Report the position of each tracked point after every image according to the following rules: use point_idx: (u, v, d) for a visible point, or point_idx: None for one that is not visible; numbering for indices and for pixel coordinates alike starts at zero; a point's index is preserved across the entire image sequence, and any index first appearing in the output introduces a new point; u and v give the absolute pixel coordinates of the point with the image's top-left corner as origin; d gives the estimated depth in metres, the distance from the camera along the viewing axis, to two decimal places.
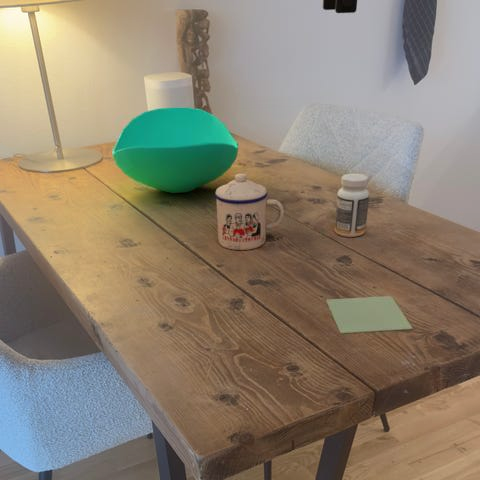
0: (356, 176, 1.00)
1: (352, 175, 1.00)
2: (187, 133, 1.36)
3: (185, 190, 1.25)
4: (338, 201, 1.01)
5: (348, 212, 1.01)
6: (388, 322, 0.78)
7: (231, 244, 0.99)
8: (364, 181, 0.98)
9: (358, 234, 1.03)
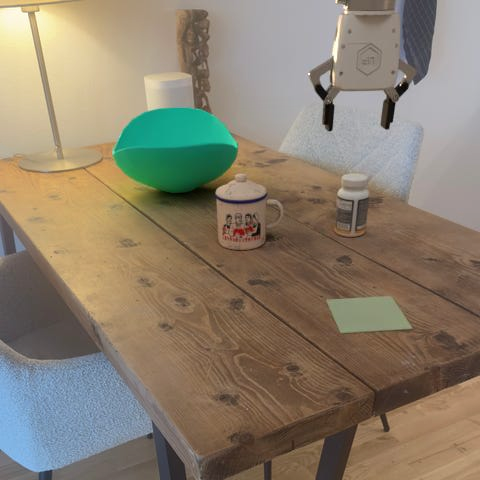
0: (356, 176, 1.00)
1: (352, 175, 1.00)
2: (187, 133, 1.36)
3: (185, 190, 1.25)
4: (338, 201, 1.01)
5: (348, 212, 1.01)
6: (388, 322, 0.78)
7: (231, 244, 0.99)
8: (364, 181, 0.98)
9: (358, 234, 1.03)
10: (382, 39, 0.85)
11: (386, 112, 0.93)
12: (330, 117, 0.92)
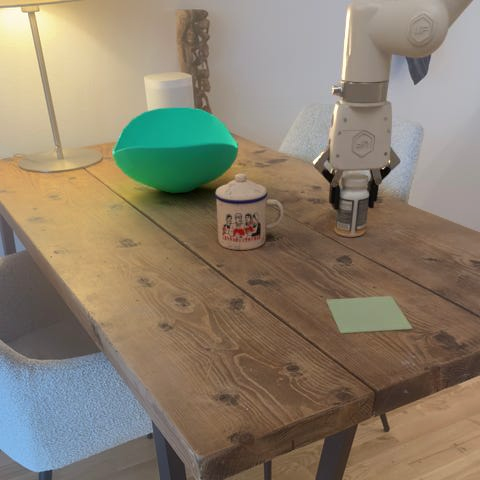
0: (356, 176, 1.00)
1: (352, 175, 1.00)
2: (187, 133, 1.36)
3: (185, 190, 1.25)
4: None
5: (348, 212, 1.01)
6: (388, 322, 0.78)
7: (231, 244, 0.99)
8: (364, 181, 0.98)
9: (358, 234, 1.03)
10: (375, 126, 0.92)
11: (370, 193, 1.00)
12: (336, 198, 1.00)
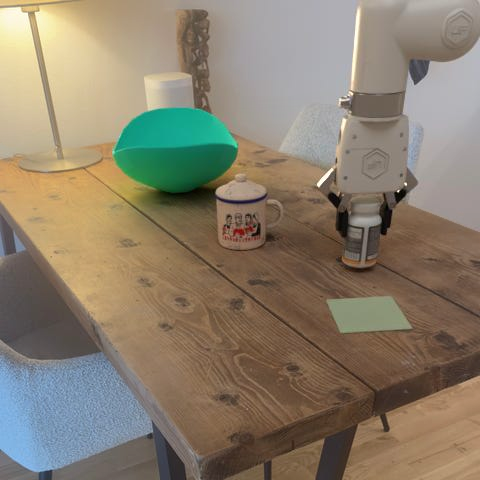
0: (367, 199, 0.87)
1: (362, 198, 0.87)
2: (187, 133, 1.36)
3: (185, 190, 1.25)
4: None
5: (357, 241, 0.88)
6: (388, 322, 0.78)
7: (231, 244, 0.99)
8: (376, 206, 0.85)
9: (369, 265, 0.91)
10: (389, 144, 0.79)
11: (383, 219, 0.88)
12: (344, 224, 0.87)
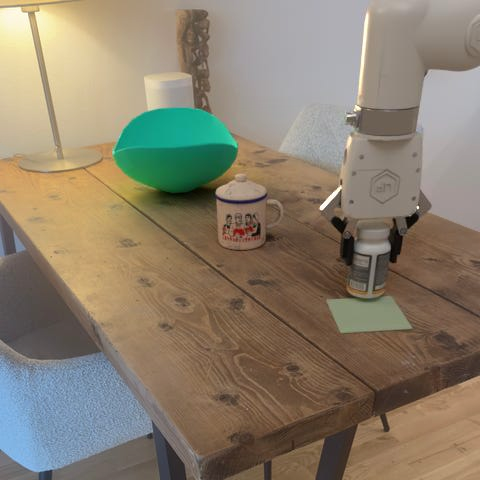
0: (375, 224, 0.78)
1: (369, 223, 0.79)
2: (187, 133, 1.36)
3: (185, 190, 1.25)
4: None
5: (364, 270, 0.80)
6: (388, 322, 0.78)
7: (231, 244, 0.99)
8: (385, 231, 0.77)
9: (376, 295, 0.82)
10: (401, 164, 0.71)
11: (392, 245, 0.79)
12: (349, 252, 0.79)
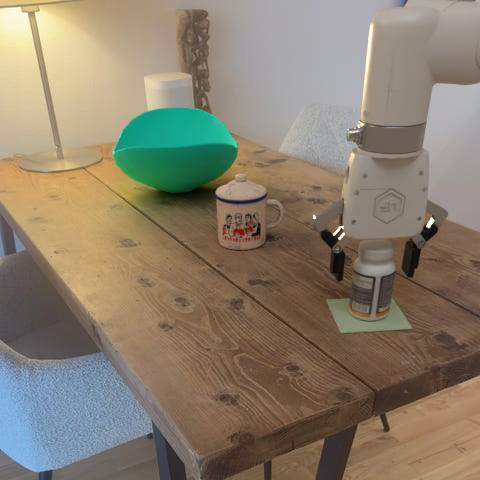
0: (378, 244, 0.75)
1: (373, 242, 0.75)
2: (187, 133, 1.36)
3: (185, 190, 1.25)
4: (354, 276, 0.76)
5: (367, 292, 0.76)
6: (388, 322, 0.78)
7: (231, 244, 0.99)
8: (390, 252, 0.73)
9: (380, 317, 0.78)
10: (406, 183, 0.67)
11: (409, 259, 0.75)
12: (340, 267, 0.74)
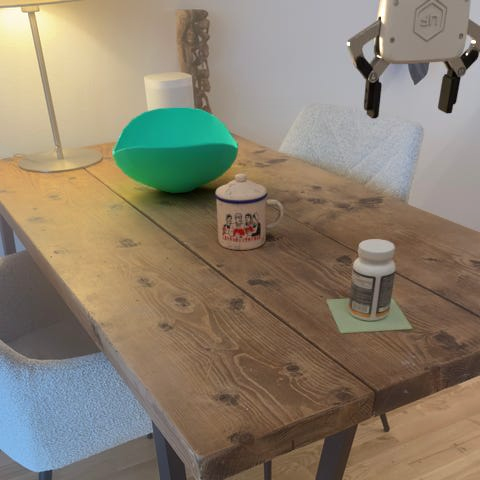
0: (378, 244, 0.75)
1: (373, 242, 0.75)
2: (187, 133, 1.36)
3: (185, 190, 1.25)
4: (354, 276, 0.76)
5: (367, 292, 0.76)
6: (388, 322, 0.78)
7: (231, 244, 0.99)
8: (390, 252, 0.73)
9: (380, 317, 0.78)
10: None
11: (448, 91, 0.71)
12: (376, 100, 0.71)
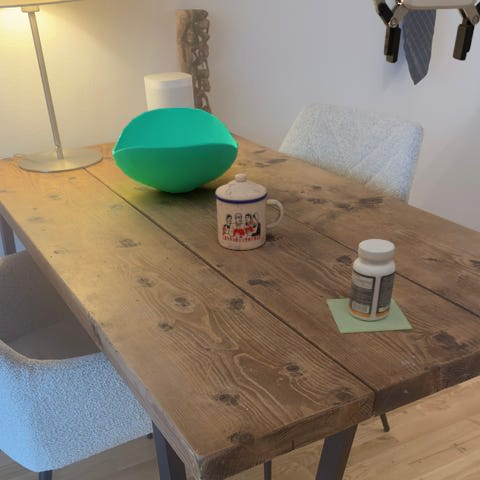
0: (378, 244, 0.75)
1: (373, 242, 0.75)
2: (187, 133, 1.36)
3: (185, 190, 1.25)
4: (354, 276, 0.76)
5: (367, 292, 0.76)
6: (388, 322, 0.78)
7: (231, 244, 0.99)
8: (390, 252, 0.73)
9: (380, 317, 0.78)
10: None
11: (463, 38, 0.77)
12: (395, 44, 0.76)
